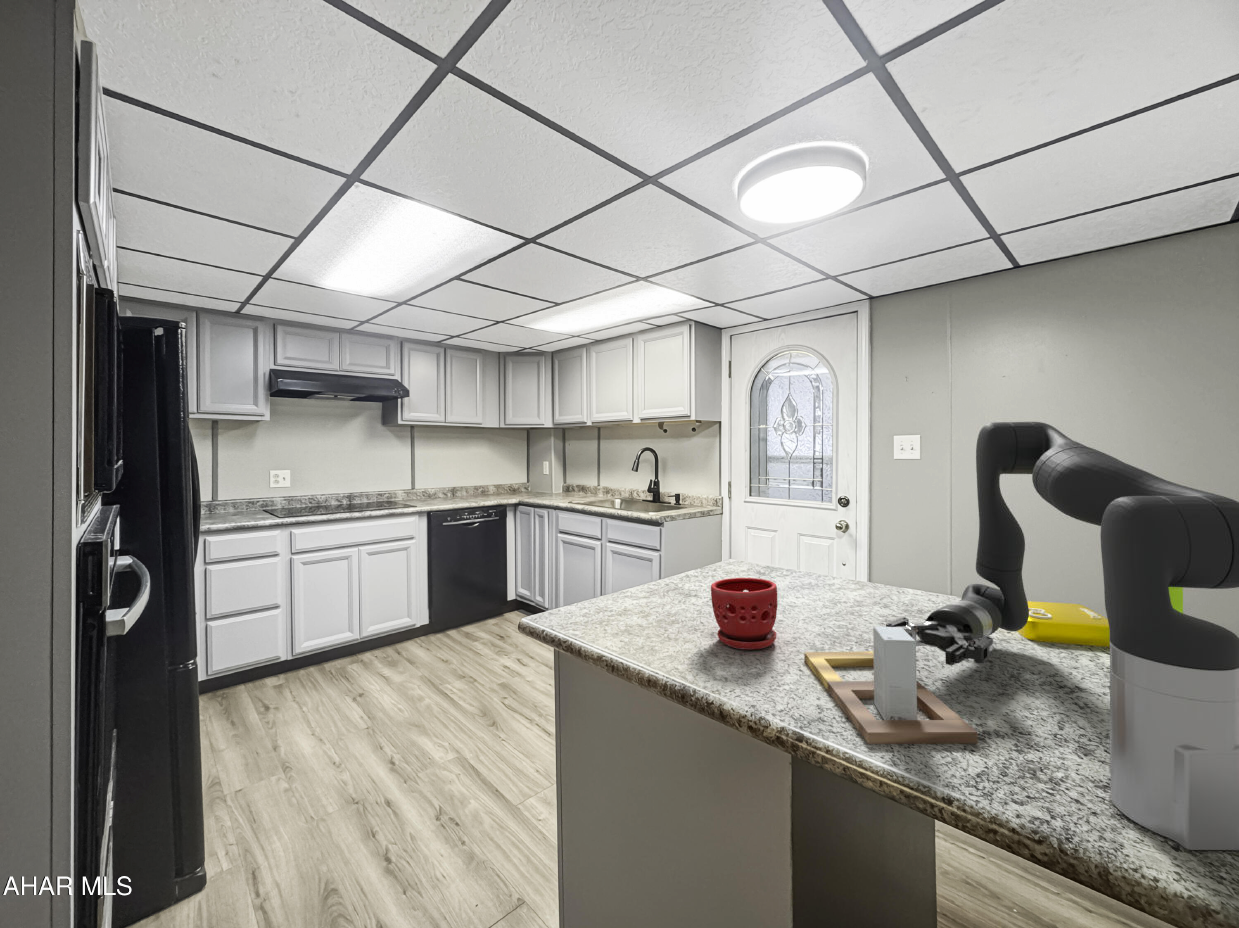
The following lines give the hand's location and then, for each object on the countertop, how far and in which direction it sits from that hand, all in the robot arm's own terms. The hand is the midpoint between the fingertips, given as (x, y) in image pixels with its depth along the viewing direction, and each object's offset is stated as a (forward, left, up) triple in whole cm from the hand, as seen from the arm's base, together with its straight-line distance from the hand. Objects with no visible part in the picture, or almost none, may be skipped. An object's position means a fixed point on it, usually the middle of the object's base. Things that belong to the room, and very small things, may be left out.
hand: (917, 649), depth 79 cm
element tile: (+28, -42, -8) cm, 51 cm away
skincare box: (-5, +6, -8) cm, 11 cm away
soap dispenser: (+14, -48, -8) cm, 51 cm away
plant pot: (+24, +22, -8) cm, 34 cm away
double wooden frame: (+1, +6, -8) cm, 10 cm away
